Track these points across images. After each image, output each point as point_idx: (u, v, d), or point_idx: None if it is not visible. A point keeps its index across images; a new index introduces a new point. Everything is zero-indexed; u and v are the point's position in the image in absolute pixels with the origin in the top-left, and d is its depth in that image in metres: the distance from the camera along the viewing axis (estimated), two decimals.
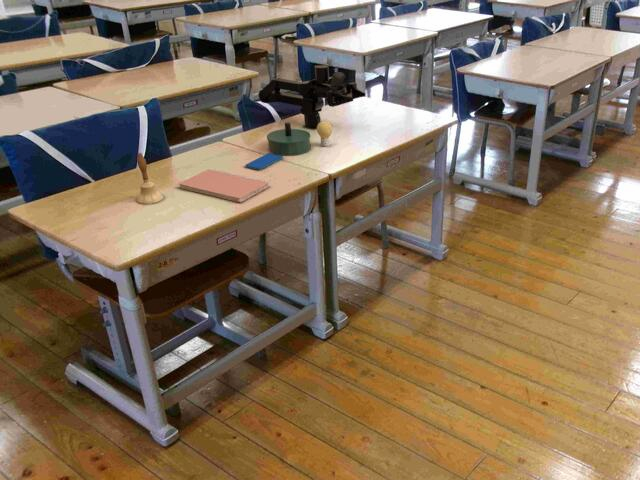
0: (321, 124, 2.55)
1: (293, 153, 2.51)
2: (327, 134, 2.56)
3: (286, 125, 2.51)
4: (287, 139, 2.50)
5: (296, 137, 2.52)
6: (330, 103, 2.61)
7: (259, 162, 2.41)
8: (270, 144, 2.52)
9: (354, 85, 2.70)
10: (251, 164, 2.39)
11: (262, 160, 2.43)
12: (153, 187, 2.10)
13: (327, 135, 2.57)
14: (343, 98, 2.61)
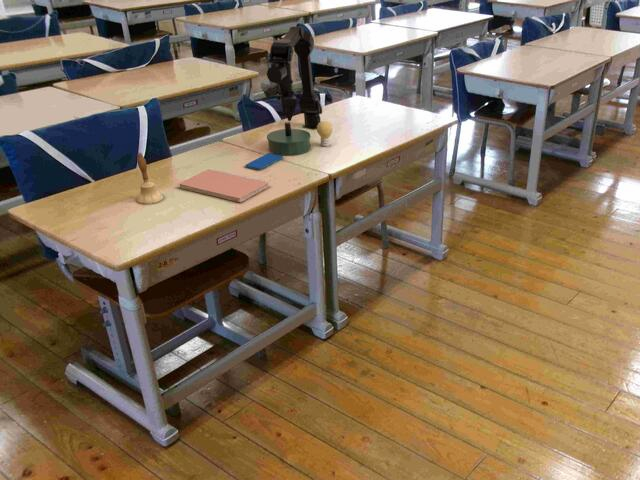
0: (321, 124, 2.55)
1: (293, 153, 2.51)
2: (327, 134, 2.56)
3: (286, 125, 2.51)
4: (287, 139, 2.50)
5: (296, 137, 2.52)
6: None
7: (259, 162, 2.41)
8: (270, 144, 2.52)
9: (282, 105, 2.41)
10: (251, 164, 2.39)
11: (262, 160, 2.43)
12: (153, 187, 2.10)
13: (327, 135, 2.57)
14: None
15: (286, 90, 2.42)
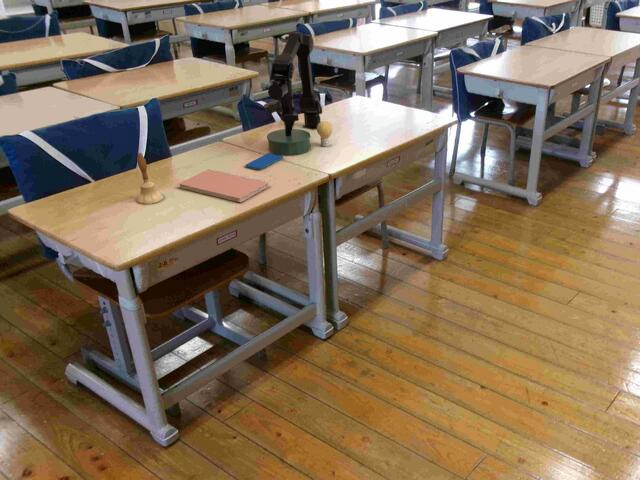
0: (321, 124, 2.55)
1: (293, 153, 2.51)
2: (327, 134, 2.56)
3: None
4: (287, 139, 2.50)
5: (296, 137, 2.52)
6: None
7: (259, 162, 2.41)
8: (270, 144, 2.52)
9: (281, 119, 2.47)
10: (251, 164, 2.39)
11: (262, 160, 2.43)
12: (153, 187, 2.10)
13: (327, 135, 2.57)
14: None
15: (287, 106, 2.46)
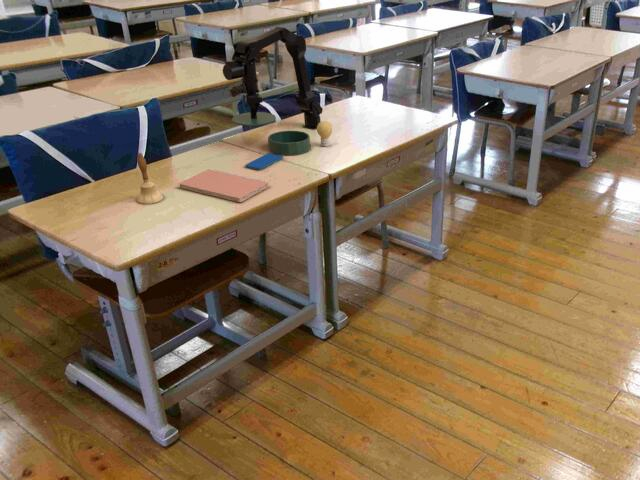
0: (321, 124, 2.55)
1: (293, 153, 2.51)
2: (327, 134, 2.56)
3: None
4: (252, 121, 2.52)
5: (261, 120, 2.54)
6: None
7: (259, 162, 2.41)
8: (270, 144, 2.52)
9: (246, 101, 2.49)
10: (251, 164, 2.39)
11: (262, 160, 2.43)
12: (153, 187, 2.10)
13: (327, 135, 2.57)
14: None
15: (252, 88, 2.47)
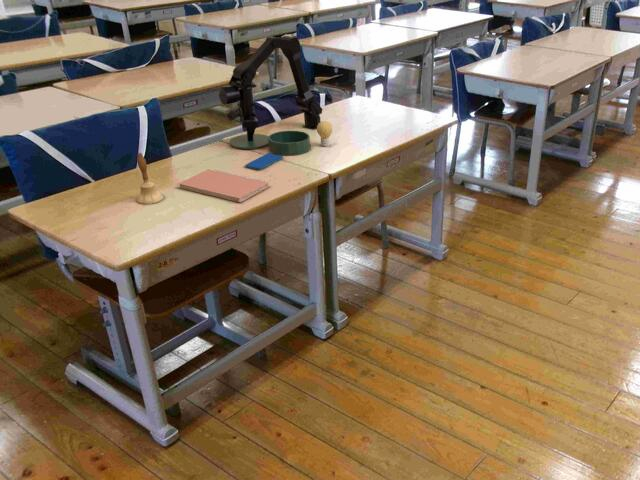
0: (321, 124, 2.55)
1: (293, 153, 2.51)
2: (327, 134, 2.56)
3: None
4: (248, 144, 2.58)
5: (257, 142, 2.60)
6: None
7: (259, 162, 2.41)
8: (270, 144, 2.52)
9: None
10: (251, 164, 2.39)
11: (262, 160, 2.43)
12: (153, 187, 2.10)
13: (327, 135, 2.57)
14: None
15: (248, 112, 2.53)
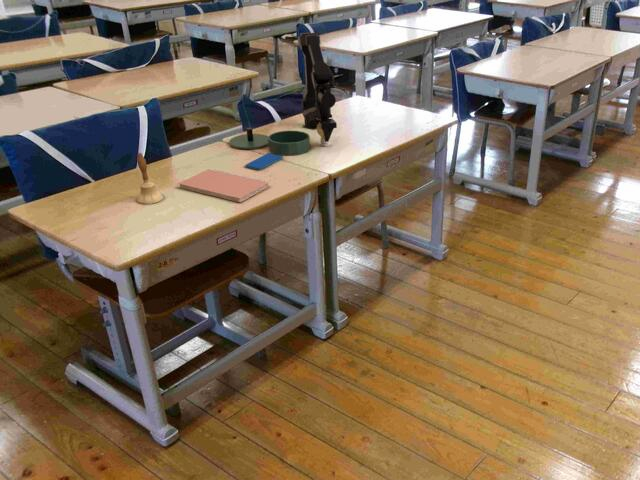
0: None
1: (293, 153, 2.51)
2: None
3: (248, 130, 2.59)
4: (248, 144, 2.58)
5: (257, 142, 2.60)
6: None
7: (259, 162, 2.41)
8: (270, 144, 2.52)
9: None
10: (251, 164, 2.39)
11: (262, 160, 2.43)
12: (153, 187, 2.10)
13: None
14: None
15: (325, 114, 2.52)
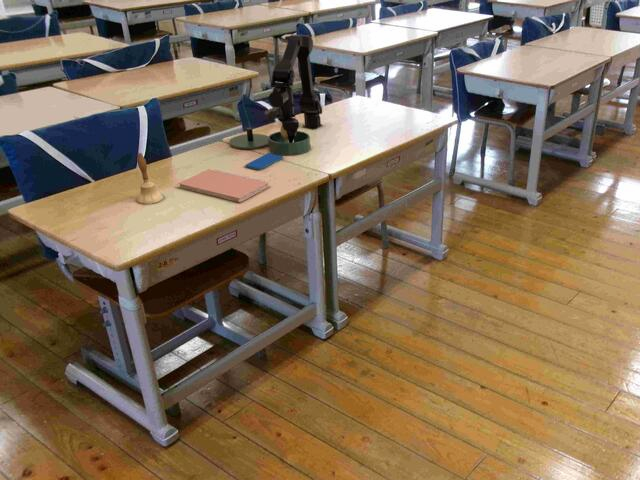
0: None
1: (293, 153, 2.51)
2: None
3: (248, 130, 2.59)
4: (248, 144, 2.58)
5: (257, 142, 2.60)
6: None
7: (259, 162, 2.41)
8: (270, 144, 2.52)
9: (283, 128, 2.46)
10: (251, 164, 2.39)
11: (262, 160, 2.43)
12: (153, 187, 2.10)
13: None
14: None
15: (288, 113, 2.47)
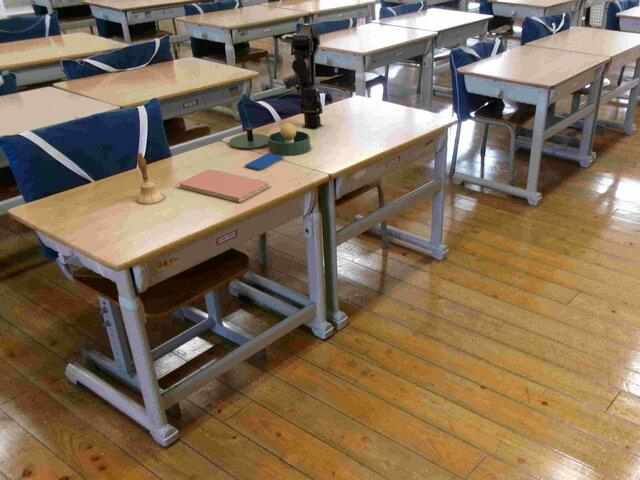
0: (284, 126, 2.51)
1: (293, 153, 2.51)
2: (291, 136, 2.52)
3: (248, 130, 2.59)
4: (248, 144, 2.58)
5: (257, 142, 2.60)
6: None
7: (259, 162, 2.41)
8: (270, 144, 2.52)
9: (301, 95, 2.53)
10: (251, 164, 2.39)
11: (262, 160, 2.43)
12: (153, 187, 2.10)
13: (291, 137, 2.53)
14: None
15: (305, 81, 2.54)
